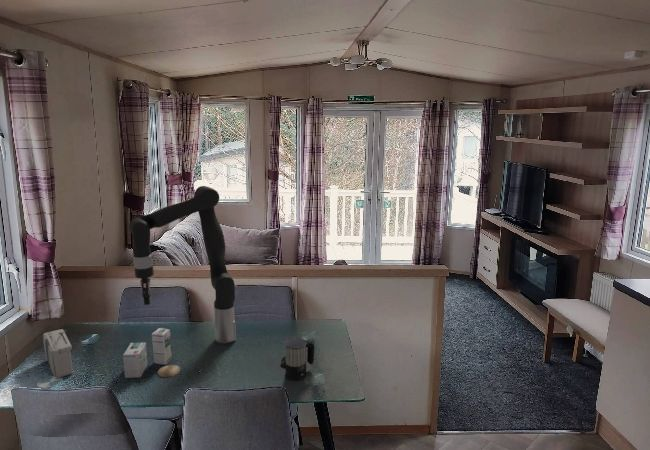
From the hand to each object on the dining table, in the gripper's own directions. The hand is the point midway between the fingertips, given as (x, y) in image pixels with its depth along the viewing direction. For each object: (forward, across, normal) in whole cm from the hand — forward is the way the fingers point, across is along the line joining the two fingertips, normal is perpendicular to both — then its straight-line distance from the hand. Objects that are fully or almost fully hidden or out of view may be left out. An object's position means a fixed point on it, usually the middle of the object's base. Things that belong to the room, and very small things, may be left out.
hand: (147, 300), depth 210 cm
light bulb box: (+28, -9, +7) cm, 30 cm away
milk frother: (+29, -29, -56) cm, 70 cm away
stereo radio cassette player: (+27, +4, +38) cm, 47 cm away
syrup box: (+28, -4, -4) cm, 28 cm away
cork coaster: (+28, -14, -6) cm, 32 cm away
